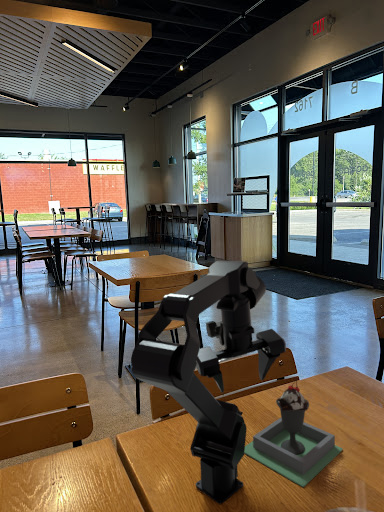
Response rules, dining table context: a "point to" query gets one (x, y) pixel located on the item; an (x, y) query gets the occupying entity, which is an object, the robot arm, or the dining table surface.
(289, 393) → the sundae
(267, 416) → the dining table surface
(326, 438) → the rimmed mat
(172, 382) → the robot arm
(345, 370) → the dining table surface
